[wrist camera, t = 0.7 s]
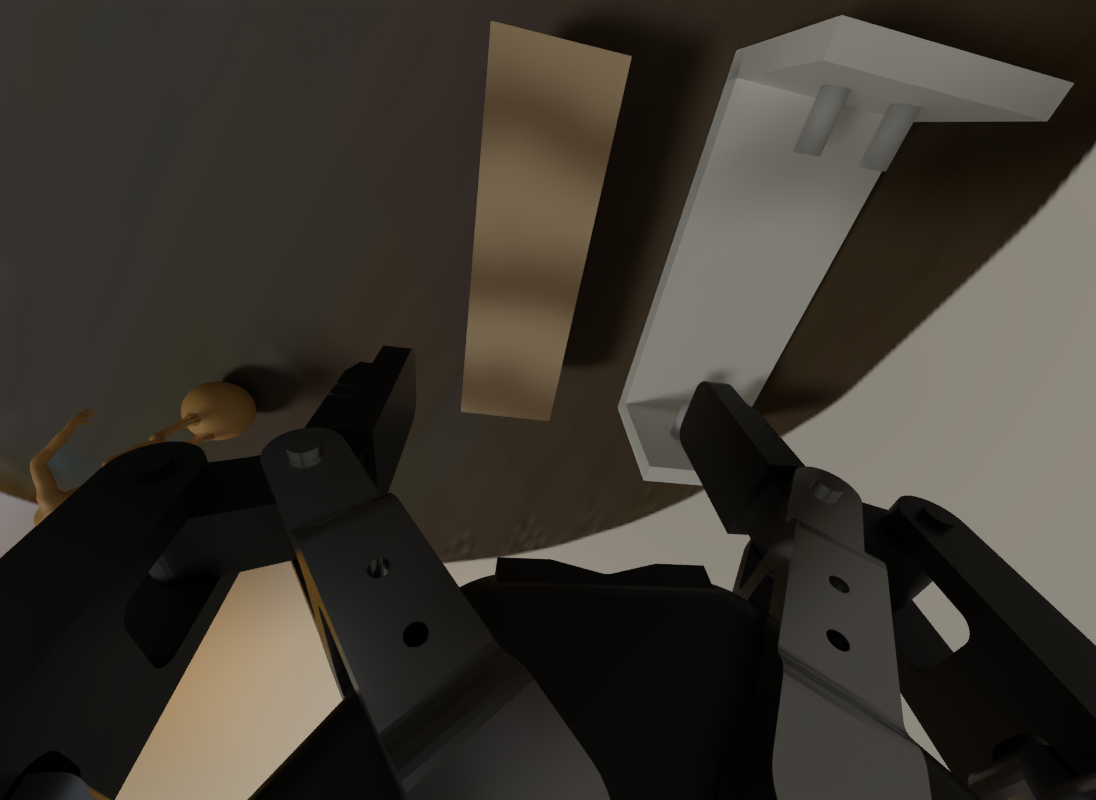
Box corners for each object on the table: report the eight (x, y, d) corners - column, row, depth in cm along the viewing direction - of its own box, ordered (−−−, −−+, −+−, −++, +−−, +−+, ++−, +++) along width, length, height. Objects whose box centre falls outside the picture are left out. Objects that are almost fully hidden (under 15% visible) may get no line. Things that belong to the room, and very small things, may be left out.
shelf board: (493, 33, 17) (491, 20, 15) (618, 63, 18) (631, 56, 16) (465, 389, 27) (460, 411, 25) (546, 398, 28) (549, 420, 26)
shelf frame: (736, 50, 20) (841, 15, 14) (905, 95, 22) (1074, 83, 15) (617, 407, 32) (643, 480, 26) (732, 420, 34) (785, 492, 27)
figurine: (292, 433, 32) (191, 574, 22) (219, 447, 32) (85, 592, 22) (227, 338, 27) (61, 462, 17) (142, 354, 27) (-71, 485, 17)
